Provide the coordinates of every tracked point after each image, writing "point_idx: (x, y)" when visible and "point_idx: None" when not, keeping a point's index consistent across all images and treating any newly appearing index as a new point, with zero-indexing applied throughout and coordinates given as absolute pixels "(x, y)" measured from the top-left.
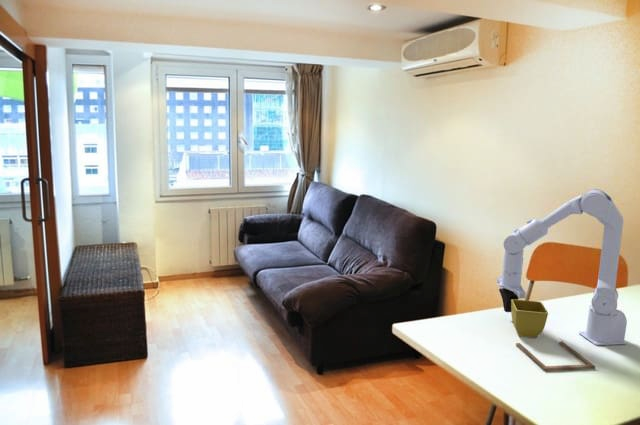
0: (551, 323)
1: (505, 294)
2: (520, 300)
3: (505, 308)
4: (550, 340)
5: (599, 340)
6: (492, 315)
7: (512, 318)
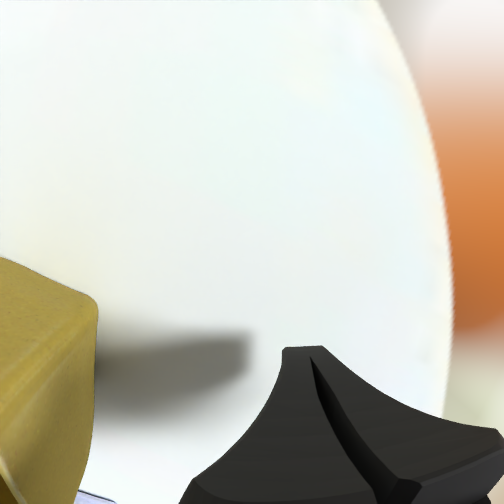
0: None
1: (200, 498)
2: (8, 485)
3: (291, 359)
4: None
5: None
6: (365, 245)
7: (46, 298)
